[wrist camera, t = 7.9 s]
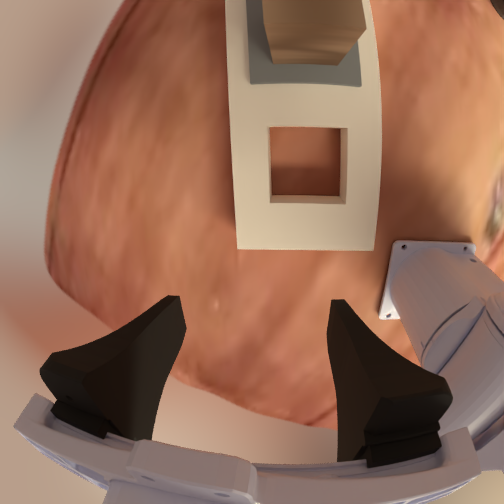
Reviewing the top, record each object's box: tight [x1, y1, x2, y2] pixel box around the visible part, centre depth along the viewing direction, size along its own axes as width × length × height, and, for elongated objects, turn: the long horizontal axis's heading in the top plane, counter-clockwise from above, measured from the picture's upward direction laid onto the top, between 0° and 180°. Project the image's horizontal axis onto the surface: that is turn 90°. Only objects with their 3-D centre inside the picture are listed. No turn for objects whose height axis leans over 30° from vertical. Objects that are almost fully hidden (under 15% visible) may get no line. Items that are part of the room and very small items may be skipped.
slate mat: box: [246, 0, 362, 87], centre depth 13 cm, size 7×7×1 cm
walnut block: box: [262, 0, 367, 66], centre depth 10 cm, size 4×4×7 cm
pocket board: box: [225, 0, 382, 251], centre depth 16 cm, size 10×20×2 cm, turn 3°
